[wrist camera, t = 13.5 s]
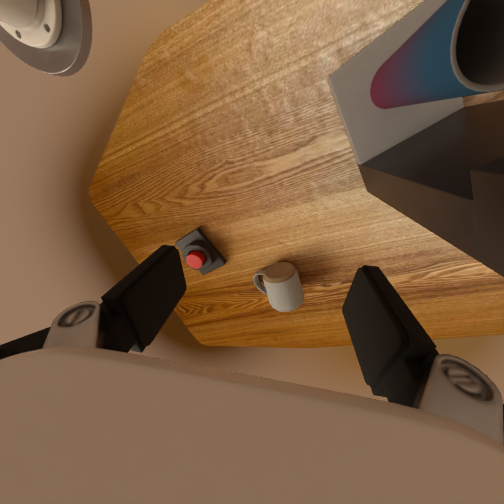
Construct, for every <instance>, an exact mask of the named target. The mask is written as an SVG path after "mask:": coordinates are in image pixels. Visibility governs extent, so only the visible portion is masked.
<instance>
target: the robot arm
mask: <svg viewBox="0 0 504 504" xmlns="http://www.w3.org/2000/svg"><path fill="white" fill-rule="evenodd" d="M0 25H1V26H2V27H3V28H4V29H5V30H6V31H7V32H8V33H9V34H11V35H12V36H13V37H14V38H16V39H17V40H19V41H21V42H22V43H24V44H27V45H29V46H32V47H36V48H39V49H40V48H48V47H50V46H52V45H53V44H54V43H55V42H56V41H57V39H58V37H59V35H60V31H61V27H62V8H61V1H60V0H0ZM185 291H186V282H185V277H184V273H183V268H182V264H181V259H180V255H179V251H178V249H176V248H175V246H169V245H162V246H161V247H160V248H159V249H157V250H156V251H155V252H154V253H153V254H151V255H150V256H149V257H148V258H147V259H146V260H144V261H143V262H142V263H141V264H140V265H138V266H137V267H136V268H135V269H134V270H133V271H131V272H130V273H129V274H128V275H127V276H126V277H124V278H123V279H122V280H121V281H120V282H118V283H117V284H116V285H115V286H114V287H112V288H111V289H110V290H109V291H108V292H107V293H106V294H104V295H103V296H102V297H101V298H102V300H103V302H102V303H101V304H99V303H98V302H95V301H85V302H81V303H78V304H75V305H73V306H71V307H69V308H67V309H65V310H64V311H63V312H61V313H60V314H59V315H58V316H57V317H56V318H55V319H54V321H53V323H52V325H51V327H49V328H46V329H43V330H41V331H38V332H35V333H32V334H29V335H27V336H24V337H21V338H19V339H16V340H13V341H10V342H8V343H5V344H2V345H0V504H504V404H503V400H502V396H501V393H500V391H499V390H498V388H497V387H496V385H495V384H494V383H493V382H492V381H491V380H490V378H489V377H488V376H487V375H485V374H484V373H483V372H482V371H481V370H479V369H478V368H476V367H475V366H473V365H472V364H470V363H469V362H467V361H465V360H463V359H461V358H459V357H456V356H453V355H449V354H439V353H438V352H437V350H436V349H435V348H436V345H435V344H434V342H433V341H432V340H431V338H430V337H429V336H428V334H427V333H426V332H425V330H424V329H423V327H422V326H421V325H420V323H419V322H418V321H417V319H416V318H415V316H414V315H413V314H412V312H411V311H410V310H409V308H408V307H407V305H406V304H405V303H404V301H403V300H402V299H401V297H400V296H399V294H398V293H397V292H396V290H395V289H394V288H393V286H392V285H391V284H390V282H389V281H388V279H387V278H386V277H385V275H384V274H383V273H382V271H381V270H380V268H379V267H377V266H367V265H364V266H362V268H358V270H357V272H356V275H355V277H354V280H353V282H352V285H351V287H350V289H349V292H348V294H347V297H346V299H345V302H344V304H343V308H342V311H343V315H344V318H345V322H346V325H347V328H348V331H349V334H350V337H351V340H352V343H353V346H354V349H355V352H356V355H357V358H358V361H359V364H360V367H361V370H362V373H363V376H364V379H365V382H366V383H367V385H370V387H371V389H372V392H373V395H377V396H382V397H387V399H388V401H389V402H386V401H381V400H376V399H371V398H367V397H362V396H357V395H352V394H348V393H342V392H337V391H331V390H327V389H321V388H316V387H311V386H306V385H300V384H295V383H290V382H285V381H279V380H274V379H268V378H263V377H258V376H253V375H247V374H242V373H236V372H231V371H225V370H220V369H215V368H209V367H204V366H199V365H193V364H188V363H182V362H176V361H171V360H165V359H160V358H154V357H149V356H143V355H137V354H131V353H128V352H129V350H130V349H131V350H132V351H137V352H143V350H144V349H145V347H146V346H148V345H150V344H151V342H152V341H153V340H154V338H155V337H156V335H157V334H158V332H159V330H160V329H161V327H162V326H163V325H164V323H165V322H166V320H167V318H168V317H169V315H170V314H171V313H172V311H173V310H174V308H175V307H176V305H177V304H178V302H179V301H180V299H181V298H182V296H183V295H184V293H185Z"/></svg>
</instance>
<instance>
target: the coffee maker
mask: <svg viewBox="0 0 504 504" xmlns="http://www.w3.org/2000/svg"><path fill="white" fill-rule="evenodd" d="M446 1H447V0H425V1H423V2H422V3H421V4H420V5H418V6H417V7H416V8H414V9H413V10H412V11H411V12H409V13H408V14H407V15H406V16H404V17H403V18H402V19H401V20H399V21H398V22H397V23H396V24H394V25H393V26H392V27H391V28H389V29H388V30H387V31H385V32H384V33H383V34H382V35H380V36H379V37H378V38H377V39H375V40H374V41H373V42H372V43H370V44H369V45H368V46H367V47H365V48H364V49H363V50H362V51H360V52H359V53H358V54H356V55H355V56H354V57H353V58H351V59H350V60H349V61H348V62H346V63H345V64H344V65H343V66H341V67H340V68H339V69H338V70H336V71H335V72H334V73H333V74H331V75H330V76H329V77H328V79H327V81H328V84H329V87H330V89H331V92H332V95H333V98H334V101H335V103H336V106H337V109H338V112H339V114H340V117H341V120H342V123H343V125H344V128H345V131H346V134H347V136H348V139H349V142H350V145H351V148H352V150H353V153H354V156H355V159H356V161H357V164H358V167H359V169H360V172H361V175H362V178H363V181H364V183H365V186H366V189H367V192H369V193H371V194H372V195H374V196H375V197H377V198H379V199H380V200H382V201H383V202H385V203H387V204H388V205H390V206H391V207H393V208H394V209H396V210H398V211H399V212H401V213H402V214H404V215H406V216H407V217H409V218H410V219H412V220H414V221H415V222H417V223H418V224H420V225H422V226H423V227H425V228H426V229H428V230H430V231H431V232H433V233H434V234H436V235H438V236H439V237H441V238H442V239H444V240H445V241H447V242H449V243H450V244H452V245H453V246H455V247H457V248H458V249H460V250H461V251H463V252H465V253H466V254H468V255H469V256H471V257H473V258H474V259H476V260H477V261H479V262H482V264H484V265H485V266H487V267H489V268H490V269H492V270H493V271H495V272H497V273H498V274H500V275H501V276H503V277H504V100H500V101H495V102H490V103H485V104H479V105H474V106H469V107H464V104H463V97H458V98H452V99H445V100H439V101H433V102H427V103H420V104H414V105H408V106H402V107H395V108H389V109H381V108H378V107H377V106H375V105H374V103H373V102H372V100H371V96H370V88H371V83H372V80H373V78H374V76H375V74H376V72H377V70H378V69H379V68H380V67H381V65H382V64H383V63H384V62H385V61H386V60H387V59H388V58H389V57H390V56H391V55H392V54H393V53H394V52H395V51H396V50H397V49H398V48H399V47H400V46H401V45H402V44H403V43H404V42H405V41H406V40H407V39H408V38H409V37H410V36H411V35H412V34H414V33H415V32H416V31H417V30H418V29H419V28H420V27H421V26H422V25H423V24H424V23H425V22H426V21H427V20H428V19H429V18H430V17H431V16H432V15H433V14H434V13H435V12H436V11H437V10H438V9H439V8H440V7H441V6H442V5H443V4H444V3H445V2H446Z"/></svg>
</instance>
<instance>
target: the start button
mask: <svg viewBox="0 0 504 504" xmlns="http://www.w3.org/2000/svg"><path fill="white" fill-rule="evenodd" d="M186 262H187V264H188V265H189V266H190V267H192V268H194V269H198V268H200V267H201V266H202V265H203V263H204V262H205V256H204V255H203V254H202V253H201V252H200V251H192V252H191V253H190V254H189V255H188V256H187V257H186Z"/></svg>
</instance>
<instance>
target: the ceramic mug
mask: <svg viewBox="0 0 504 504" xmlns="http://www.w3.org/2000/svg"><path fill="white" fill-rule="evenodd" d="M258 275H263V280H264V285H265V287H264V286H263V285H262V284H261V283H260V282H259V278H258V277H259V276H258ZM253 280H254V284H255V285H256V287H257V288H258V289H259V290H260V291H262V292H263V293H265V294H267V295H268V298H269V302H270V304H271V306H272V307H273V308H274V309H276V310H278V311H282V312H288V311H292V310H295V309H297V308H298V307H299V306H300V305H301V304H302V303H303V301H304V293H303V290H302V286H301V282H300V279H299V275H298V272H297V270H296V268H295V266H294V265H293V264H291V263H288V262H278V263H275V264H272V265H270V266H269V267H268V268H267V269H266V270H260V271H258V272H257V273H256V274H255V275H254V277H253Z"/></svg>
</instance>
